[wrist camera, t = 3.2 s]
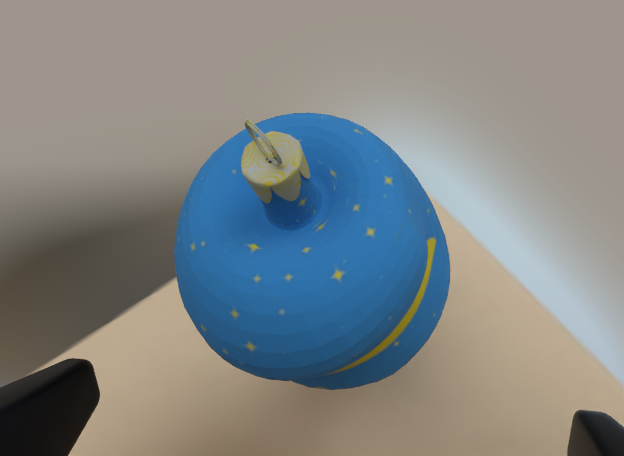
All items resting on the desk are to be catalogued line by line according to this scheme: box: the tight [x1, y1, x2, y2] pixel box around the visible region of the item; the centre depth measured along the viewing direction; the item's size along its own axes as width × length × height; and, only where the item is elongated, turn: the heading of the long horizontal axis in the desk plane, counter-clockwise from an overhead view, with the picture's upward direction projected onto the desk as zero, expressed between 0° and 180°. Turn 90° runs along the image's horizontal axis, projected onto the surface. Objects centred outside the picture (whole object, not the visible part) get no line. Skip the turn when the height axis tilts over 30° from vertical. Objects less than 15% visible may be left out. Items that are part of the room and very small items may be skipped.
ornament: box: [174, 113, 450, 390], centre depth 12 cm, size 5×5×15 cm
